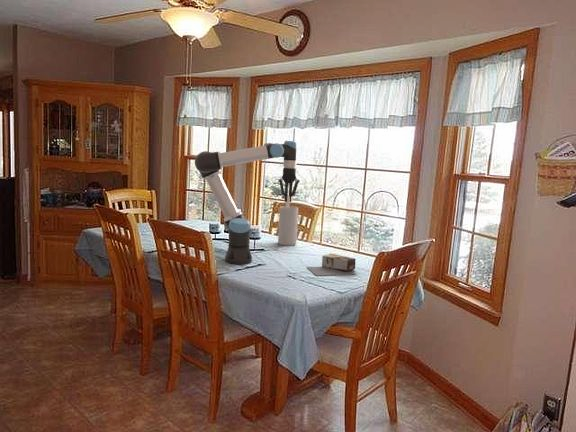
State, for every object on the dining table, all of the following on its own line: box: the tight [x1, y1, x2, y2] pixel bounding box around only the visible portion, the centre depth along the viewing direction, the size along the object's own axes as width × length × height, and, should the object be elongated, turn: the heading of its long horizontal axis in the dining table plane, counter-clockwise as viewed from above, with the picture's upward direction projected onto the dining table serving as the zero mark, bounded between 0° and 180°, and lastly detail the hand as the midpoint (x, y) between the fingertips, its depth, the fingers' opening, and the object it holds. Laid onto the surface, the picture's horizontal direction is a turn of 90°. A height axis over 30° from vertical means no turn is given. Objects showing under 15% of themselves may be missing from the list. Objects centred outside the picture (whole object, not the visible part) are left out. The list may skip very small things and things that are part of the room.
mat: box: [306, 266, 356, 277], centre depth 239 cm, size 22×16×1 cm
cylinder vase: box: [277, 205, 299, 247], centre depth 299 cm, size 12×12×25 cm
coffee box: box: [321, 253, 356, 272], centre depth 244 cm, size 9×6×16 cm
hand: (287, 207), depth 263 cm, fingers closed
